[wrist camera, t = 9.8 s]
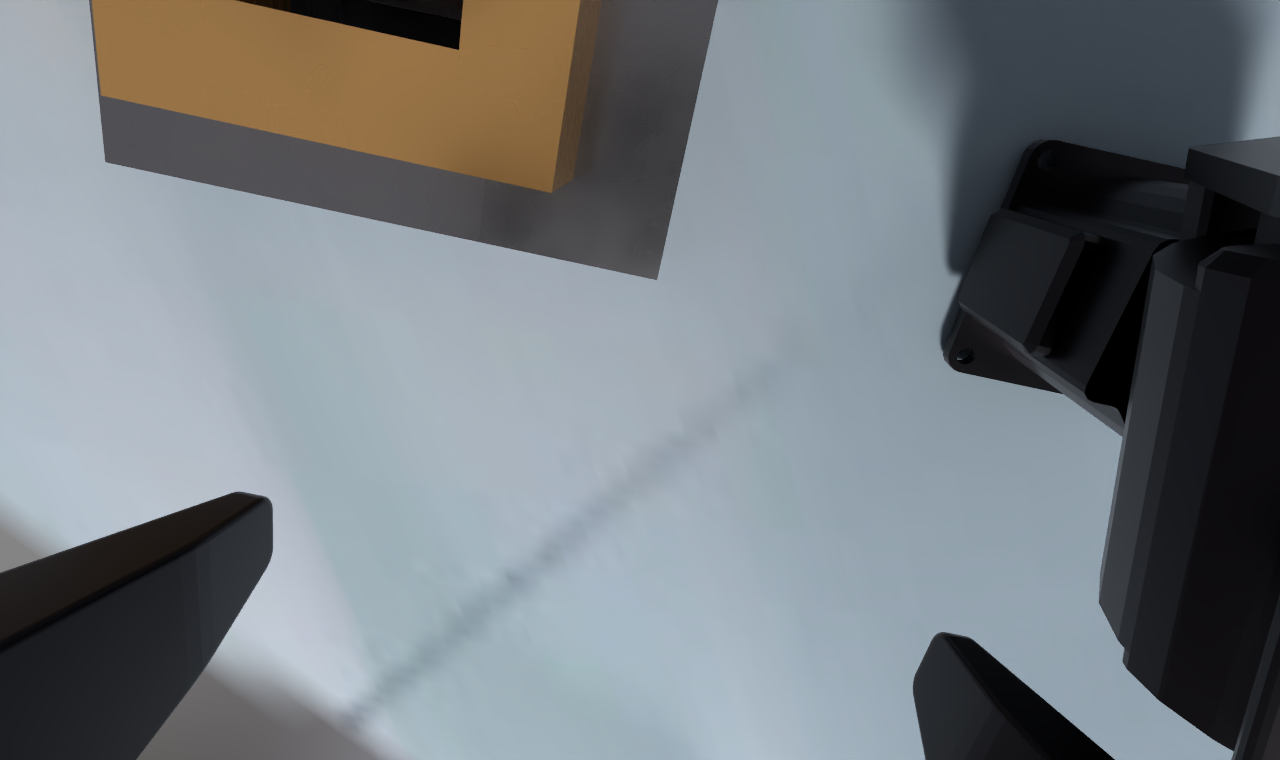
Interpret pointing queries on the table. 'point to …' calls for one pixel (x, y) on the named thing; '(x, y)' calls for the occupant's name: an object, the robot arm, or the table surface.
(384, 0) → the grey rectangular block
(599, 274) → the table surface
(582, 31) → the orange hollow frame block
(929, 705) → the robot arm
